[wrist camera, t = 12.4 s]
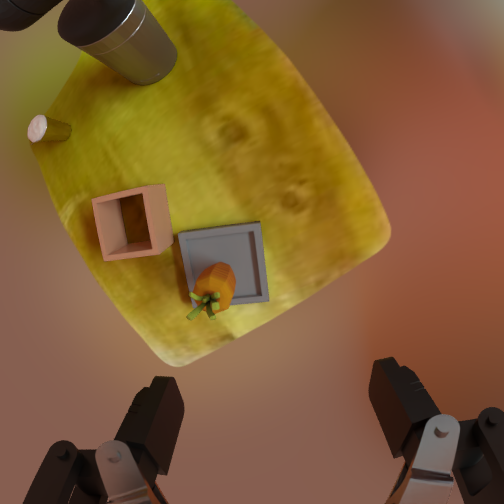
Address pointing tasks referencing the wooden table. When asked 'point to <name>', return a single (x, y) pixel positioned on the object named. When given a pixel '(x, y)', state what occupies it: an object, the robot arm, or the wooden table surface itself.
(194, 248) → the tray
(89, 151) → the wooden table surface
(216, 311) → the carrot
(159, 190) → the box
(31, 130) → the milkshake
